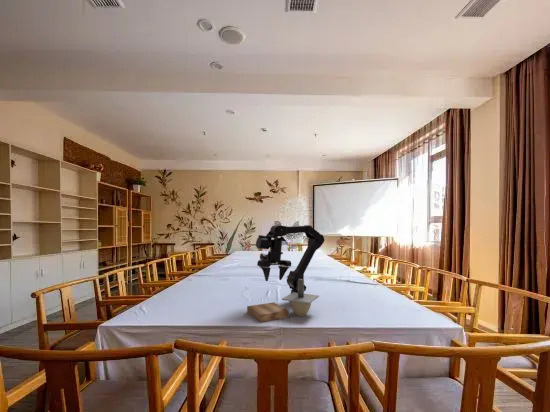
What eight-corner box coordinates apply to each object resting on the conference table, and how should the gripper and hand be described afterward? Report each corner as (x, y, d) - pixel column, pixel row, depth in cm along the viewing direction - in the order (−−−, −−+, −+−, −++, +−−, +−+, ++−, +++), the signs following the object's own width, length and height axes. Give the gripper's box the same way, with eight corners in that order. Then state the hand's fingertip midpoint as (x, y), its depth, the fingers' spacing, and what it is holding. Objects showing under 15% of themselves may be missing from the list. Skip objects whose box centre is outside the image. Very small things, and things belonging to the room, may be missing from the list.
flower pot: (310, 318, 126) (310, 301, 126) (288, 316, 128) (288, 300, 128) (312, 311, 136) (312, 296, 136) (291, 310, 138) (291, 294, 138)
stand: (273, 308, 140) (273, 302, 140) (288, 317, 128) (288, 310, 128) (247, 312, 133) (247, 306, 133) (260, 322, 121) (260, 314, 121)
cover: (293, 293, 141) (293, 275, 141) (318, 296, 135) (318, 278, 136) (281, 299, 129) (282, 280, 130) (309, 303, 123) (309, 283, 124)
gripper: (278, 248, 160) (276, 277, 159) (251, 247, 148) (249, 278, 146) (292, 250, 152) (290, 280, 150) (265, 249, 139) (263, 282, 138)
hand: (273, 280), depth 146 cm, fingers open, 9 cm apart
